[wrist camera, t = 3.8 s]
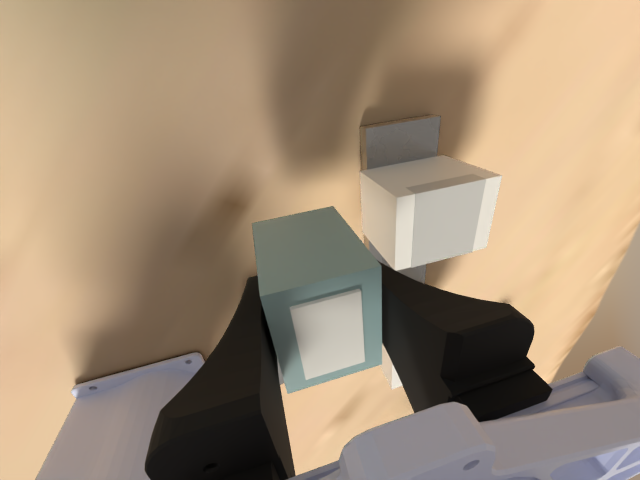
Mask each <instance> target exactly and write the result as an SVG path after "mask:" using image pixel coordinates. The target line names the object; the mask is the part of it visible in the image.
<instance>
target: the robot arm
mask: <svg viewBox="0 0 640 480" xmlns="http://www.w3.org/2000/svg"><path fill="white" fill-rule="evenodd" d="M377 261H378V260H377ZM378 262H379V261H378ZM379 263H380V265H381V271H382V343H383V345H384V347H385V349H386V351H387V353H388V355H389V357H390V359H391V361H392V363H393V366H394V368H395V370H396V372H397V374H398V376H399V379H400V381H401V383H402V385H403V387H404V390H405V392H406V394H407V397H408V399H409V401H410V403H411V406H412V408H413V410H414V414H411V415H408V416H405V417H402V418H399V419H397V420H394V421H391V422H388V423H385V424H382V425H380V426H377V427H374V428H371V429H369V430H367V431H365V432H363V433H361V434H359V435H357V436H355V437H354V438H352V439H351V440H350V441H349V442H348V443H347V444H346V445H345V446H344V447H343V450H342V452H341V455H340V459H339V460H338V461H336V462H333V463H330V464H327V465H325V466H322V467H319V468H317V469H314V470H311V471H308V472H306V473H303V474H300V475H297V476H295V470H294V465H293V459H292V453H291V448H290V442H289V436H288V431H287V425H286V419H285V413H284V407H283V401H282V395H281V389H280V383H279V374H278V360H277V355H276V351H275V348H274V344H273V341H272V337H271V334H270V330H269V327H268V323H267V320H266V316H265V313H264V309H263V306H262V302H261V299H260V293H259V284H258V276H254V277H249V278H248V280H247V283H246V287H245V290H244V293H243V295H242V298H241V301H240V303H239V305H238V308H237V310H236V312H235V314H234V316H233V318H232V320H231V322H230V324H229V326H228V328H227V330H226V332H225V333H224V335H223V337H222V338H221V340H220V341H219V343H218V345H217V346H216V348H215V349H214V350H213V352H212V353H211V355H210V356H209V358H208V359H207V360H206V362H205V361H204V359H203V357H202V355H201V354H200V353H197V352H195V353H191V354H187V355H183V356H180V357H176V358H172V359H169V360H165V361H161V362H158V363H154V364H150V365H147V366H143V367H139V368H136V369H132V370H128V371H125V372H121V373H117V374H114V375H110V376H106V377H103V378H99V379H95V380H92V381H88V382H84V383H81V384H77V385H75V386H74V387H73V389H72V391H71V393H72V394H73V395H74V397H75V398H76V400H75V402H74V404H73V406H72V408H71V410H70V412H69V414H68V416H67V418H66V420H65V422H64V424H63V426H62V428H61V430H60V432H59V434H58V436H57V438H56V440H55V442H54V444H53V446H52V447H51V449H50V451H49V453H48V455H47V457H46V459H45V461H44V463H43V465H42V467H41V469H40V471H39V473H38V475H37V477H36V479H35V480H627V479H629V478H631V477H633V476H635V475H637V474H639V473H640V358H638V357H636V356H635V355H634V354H632V353H631V352H629V351H628V350H626V349H625V348H623V347H621V346H618V347H615V348H612V349H609V350H607V351H604V352H601V353H598V354H596V355H594V356H592V357H591V358H590V359H589V360H588V361H587V362H586V364H585V366H584V368H583V372H580V373H577V374H575V375H572V376H569V377H566V378H563V379H561V380H558V381H555V382H552V383H550V384H547V383H546V382H545V381H544V380H543V379H542V378H541V377H540V376H539V375H537V374H536V373H535V372H534V371H533V370H532V369H534V368H535V365H534V363H532V362H531V361H530V360H529V359H528V358H527V357H526V356H527V353H528V350H529V348H530V345H531V343H532V340H533V336H534V325H533V324H532V322H531V321H530V320H529V319H527V318H526V317H525V316H524V315H522V314H521V313H520V312H519V311H517V310H516V309H515V308H514V307H512V306H511V305H510V304H505V303H498V302H492V301H486V300H480V299H475V298H471V297H466V296H462V295H458V294H454V293H451V292H448V291H444V290H441V289H438V288H435V287H432V286H429V285H427V284H424V283H421V282H419V281H417V280H414V279H412V278H410V277H408V276H406V275H404V274H401V273H399V272H397V271H396V270H394V269H392V268H390V267H388V266H386V265H385V264H383V263H381V262H379Z"/></svg>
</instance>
